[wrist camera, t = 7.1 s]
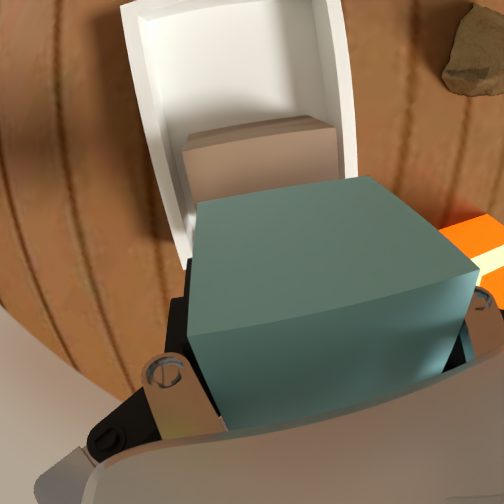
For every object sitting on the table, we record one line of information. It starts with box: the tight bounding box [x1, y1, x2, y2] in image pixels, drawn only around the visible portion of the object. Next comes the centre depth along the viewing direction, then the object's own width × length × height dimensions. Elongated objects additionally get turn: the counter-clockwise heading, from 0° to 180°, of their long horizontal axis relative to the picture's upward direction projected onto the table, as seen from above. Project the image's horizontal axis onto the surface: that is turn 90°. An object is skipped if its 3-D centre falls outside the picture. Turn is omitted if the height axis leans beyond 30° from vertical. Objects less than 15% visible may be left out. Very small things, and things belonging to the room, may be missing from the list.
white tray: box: [120, 0, 358, 270], centre depth 21 cm, size 20×14×4 cm
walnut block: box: [182, 115, 339, 213], centre depth 22 cm, size 7×9×6 cm
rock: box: [442, 4, 504, 97], centre depth 17 cm, size 11×9×10 cm
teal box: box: [187, 176, 480, 431], centre depth 9 cm, size 6×6×6 cm
